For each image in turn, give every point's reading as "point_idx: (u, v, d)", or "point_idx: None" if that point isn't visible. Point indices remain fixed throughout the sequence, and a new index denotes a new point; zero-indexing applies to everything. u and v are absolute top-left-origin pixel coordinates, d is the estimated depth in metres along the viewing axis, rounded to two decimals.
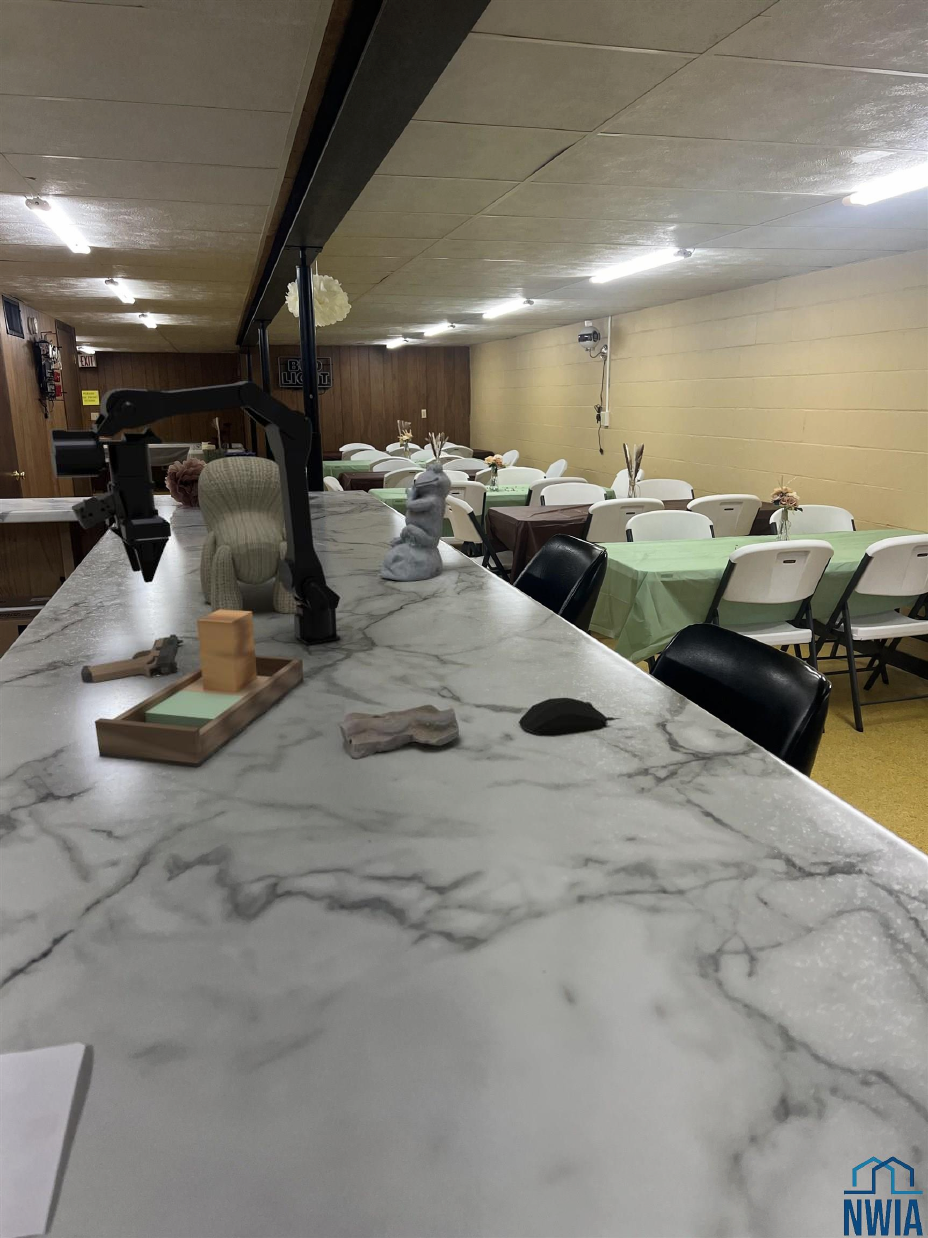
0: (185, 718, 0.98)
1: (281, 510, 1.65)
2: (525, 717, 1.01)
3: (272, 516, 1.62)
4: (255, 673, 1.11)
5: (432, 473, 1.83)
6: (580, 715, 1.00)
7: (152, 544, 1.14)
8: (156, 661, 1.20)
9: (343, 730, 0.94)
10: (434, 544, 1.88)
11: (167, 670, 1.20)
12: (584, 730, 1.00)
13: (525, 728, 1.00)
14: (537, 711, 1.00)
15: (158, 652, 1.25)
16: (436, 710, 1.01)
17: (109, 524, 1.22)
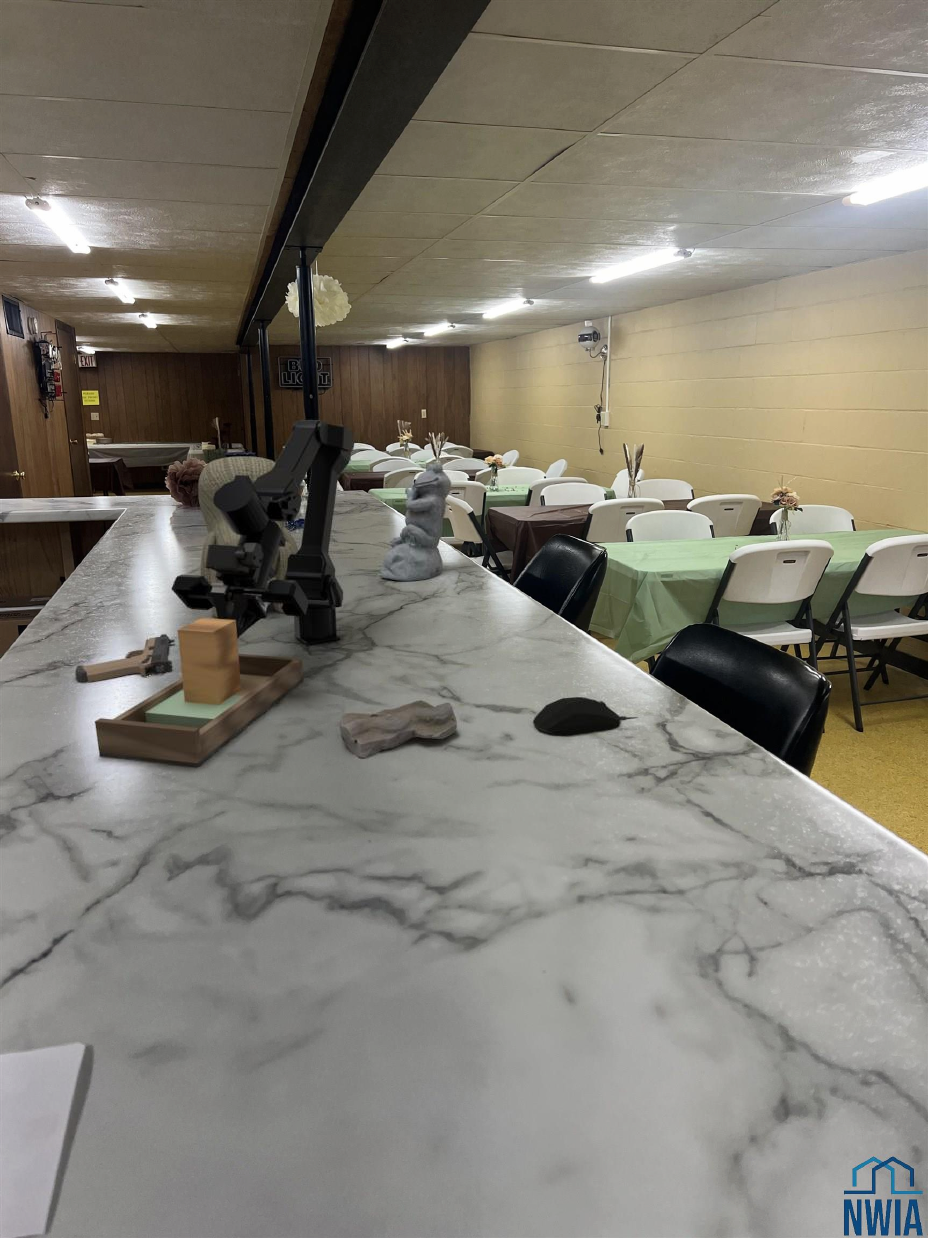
0: (185, 718, 0.98)
1: None
2: (539, 717, 1.01)
3: None
4: (239, 684, 1.07)
5: (432, 473, 1.84)
6: (594, 714, 1.00)
7: (247, 614, 1.10)
8: (151, 660, 1.21)
9: (347, 731, 0.93)
10: (434, 544, 1.88)
11: (162, 669, 1.20)
12: (598, 729, 1.00)
13: (539, 728, 1.00)
14: (551, 711, 1.00)
15: (151, 651, 1.25)
16: (429, 705, 1.02)
17: (191, 587, 1.09)
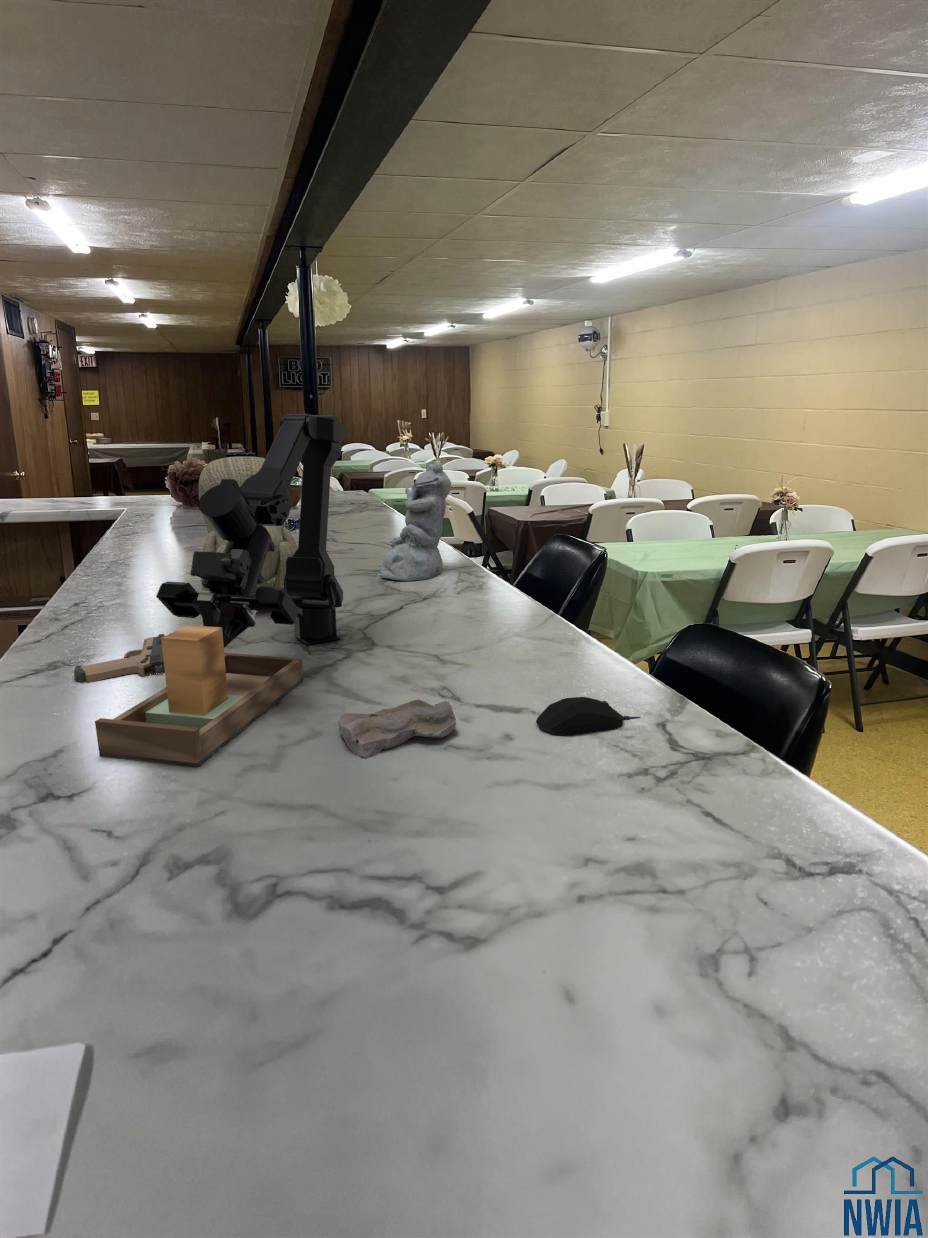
0: (185, 718, 0.98)
1: None
2: (542, 717, 1.01)
3: None
4: (226, 693, 1.03)
5: (432, 473, 1.84)
6: (597, 714, 1.00)
7: (234, 623, 1.06)
8: (149, 660, 1.21)
9: (348, 731, 0.93)
10: (434, 544, 1.88)
11: (161, 669, 1.20)
12: (601, 729, 1.00)
13: (543, 728, 1.00)
14: (554, 711, 1.00)
15: (150, 651, 1.26)
16: (427, 704, 1.03)
17: (176, 594, 1.05)
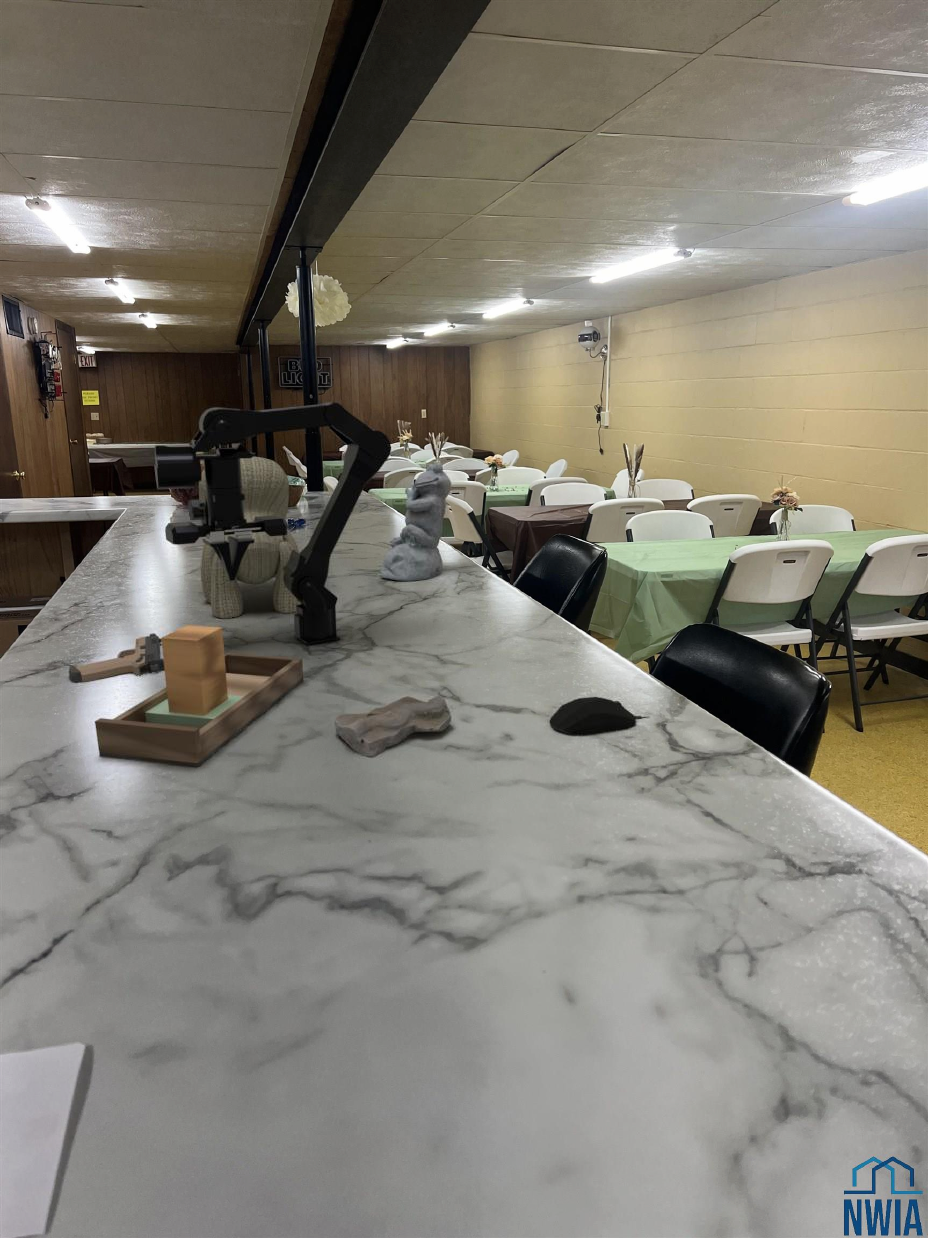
0: (185, 718, 0.98)
1: (282, 510, 1.65)
2: (555, 717, 1.01)
3: None
4: (226, 693, 1.03)
5: (432, 473, 1.83)
6: (611, 714, 1.00)
7: None
8: (145, 659, 1.21)
9: (352, 731, 0.93)
10: (434, 544, 1.88)
11: (157, 667, 1.21)
12: (615, 729, 1.00)
13: (556, 728, 1.00)
14: (568, 711, 1.00)
15: (144, 650, 1.26)
16: (417, 700, 1.04)
17: None
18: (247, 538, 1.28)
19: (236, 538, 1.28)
